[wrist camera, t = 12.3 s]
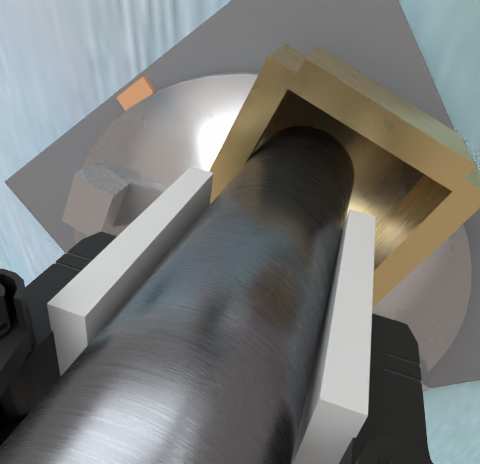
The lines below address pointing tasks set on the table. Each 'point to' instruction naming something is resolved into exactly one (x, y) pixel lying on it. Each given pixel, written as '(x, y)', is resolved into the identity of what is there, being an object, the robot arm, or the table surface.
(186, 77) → the nut plate
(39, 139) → the table surface
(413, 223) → the silver disc with box
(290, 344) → the pin
